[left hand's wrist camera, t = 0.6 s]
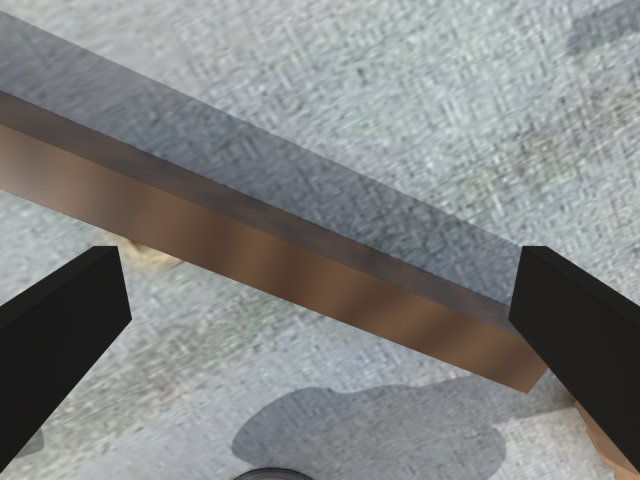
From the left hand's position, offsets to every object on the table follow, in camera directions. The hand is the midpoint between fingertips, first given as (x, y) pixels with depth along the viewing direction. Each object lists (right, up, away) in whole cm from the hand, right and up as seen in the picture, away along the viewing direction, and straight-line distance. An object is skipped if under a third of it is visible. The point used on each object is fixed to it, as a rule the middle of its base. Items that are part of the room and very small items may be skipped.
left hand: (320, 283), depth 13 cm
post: (-16, +7, +24) cm, 29 cm away
